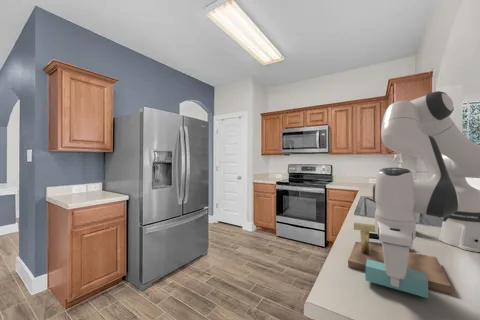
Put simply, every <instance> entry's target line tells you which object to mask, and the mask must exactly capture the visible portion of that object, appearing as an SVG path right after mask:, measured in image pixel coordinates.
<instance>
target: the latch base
mask: <svg viewBox="0 0 480 320" xmlns="http://www.w3.org/2000/svg"><path fill="white" fill-rule="evenodd" d="M367 259H369V260H373V261H377V262H381V263H384V256H383V248H382V245H381V246H380V245H375V244H371V243H369V254H365V253H362V252H361V241H355V243H354V245H353V248H352V249H351V252H350V254H349V258H348V260H347V267H348V268H352V269H355V270H358V271H359V270H360V271H363V272H366V262H367ZM407 269H411V270H416V271H420V272H424V273H425V274H426V277H427V280H428V289H430V288H431V290H434V289H435V291H438V290H439V291H438V292H442V291H443V292H442V293H446V294H449V293H450V294H452V286H451V283H450V281H449V279H448V277H447V275H446V273H445V272H444V270H443V268H442V266H441V264H440V261H439V260H438V258H437V257H436V256H432V255H431V256H430V255H425V254H421V253H417V252H411V251H409V256H408V264H407Z"/></svg>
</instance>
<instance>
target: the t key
mask: <svg viewBox="0 0 480 320" xmlns="http://www.w3.org/2000/svg"><path fill="white" fill-rule="evenodd" d="M353 230H354V231H359V235H360V242H361V252H362V253H365V254H369V244H370V239H369V233H376V232H375V224H369V223H361V222H353Z"/></svg>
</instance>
